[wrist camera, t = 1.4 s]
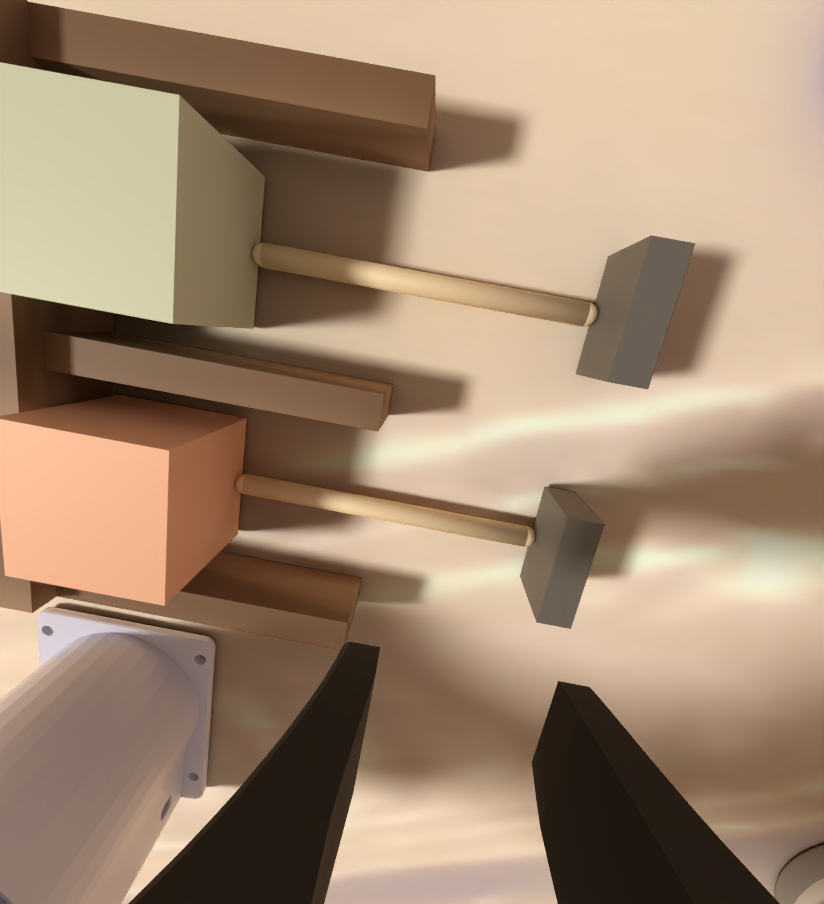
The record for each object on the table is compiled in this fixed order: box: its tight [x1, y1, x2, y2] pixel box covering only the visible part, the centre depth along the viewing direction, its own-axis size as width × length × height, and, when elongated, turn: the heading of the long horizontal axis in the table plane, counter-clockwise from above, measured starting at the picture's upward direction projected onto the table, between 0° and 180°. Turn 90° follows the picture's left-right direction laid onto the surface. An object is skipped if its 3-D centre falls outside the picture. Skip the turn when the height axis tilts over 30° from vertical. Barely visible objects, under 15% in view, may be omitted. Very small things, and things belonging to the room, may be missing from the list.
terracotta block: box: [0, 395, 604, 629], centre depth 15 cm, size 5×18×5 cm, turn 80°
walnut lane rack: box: [0, 0, 435, 650], centre depth 14 cm, size 18×12×4 cm, turn 170°
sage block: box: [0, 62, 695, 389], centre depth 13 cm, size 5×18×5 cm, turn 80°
